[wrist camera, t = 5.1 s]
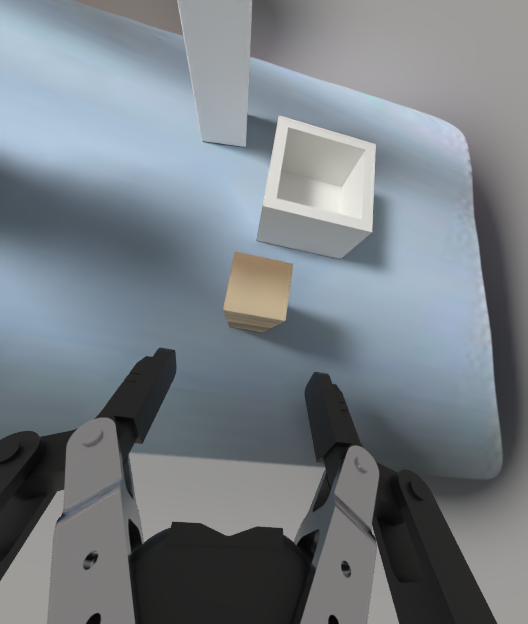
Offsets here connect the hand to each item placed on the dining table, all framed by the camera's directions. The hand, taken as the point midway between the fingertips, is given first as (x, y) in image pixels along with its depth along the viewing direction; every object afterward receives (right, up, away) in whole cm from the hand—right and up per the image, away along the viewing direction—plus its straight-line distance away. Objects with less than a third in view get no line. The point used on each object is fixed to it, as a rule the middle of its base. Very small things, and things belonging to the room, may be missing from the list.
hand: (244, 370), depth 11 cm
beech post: (-1, +3, +11) cm, 12 cm away
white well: (+7, +17, +15) cm, 23 cm away
